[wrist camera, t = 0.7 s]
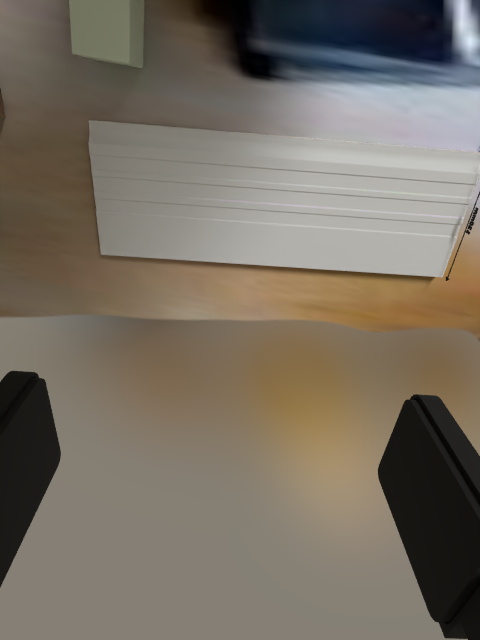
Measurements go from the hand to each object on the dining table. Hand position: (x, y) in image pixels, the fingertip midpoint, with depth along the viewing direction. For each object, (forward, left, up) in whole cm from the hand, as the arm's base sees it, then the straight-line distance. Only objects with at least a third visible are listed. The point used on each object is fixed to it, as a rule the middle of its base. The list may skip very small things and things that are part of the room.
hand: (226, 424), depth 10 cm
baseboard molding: (-1, +4, -27) cm, 27 cm away
